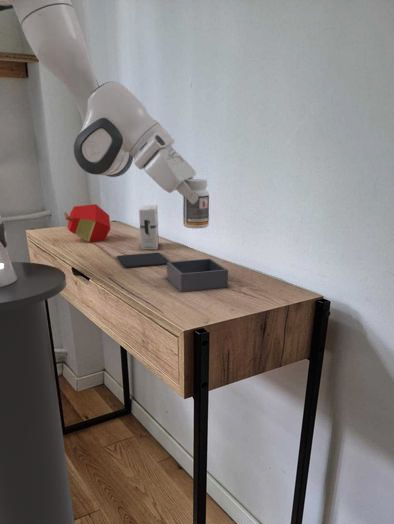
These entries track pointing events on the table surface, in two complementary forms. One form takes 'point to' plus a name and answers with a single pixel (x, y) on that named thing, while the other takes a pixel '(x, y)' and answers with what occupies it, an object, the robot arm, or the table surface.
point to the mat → (142, 260)
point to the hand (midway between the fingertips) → (199, 199)
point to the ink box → (149, 227)
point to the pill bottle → (196, 205)
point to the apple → (89, 222)
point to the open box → (197, 274)
